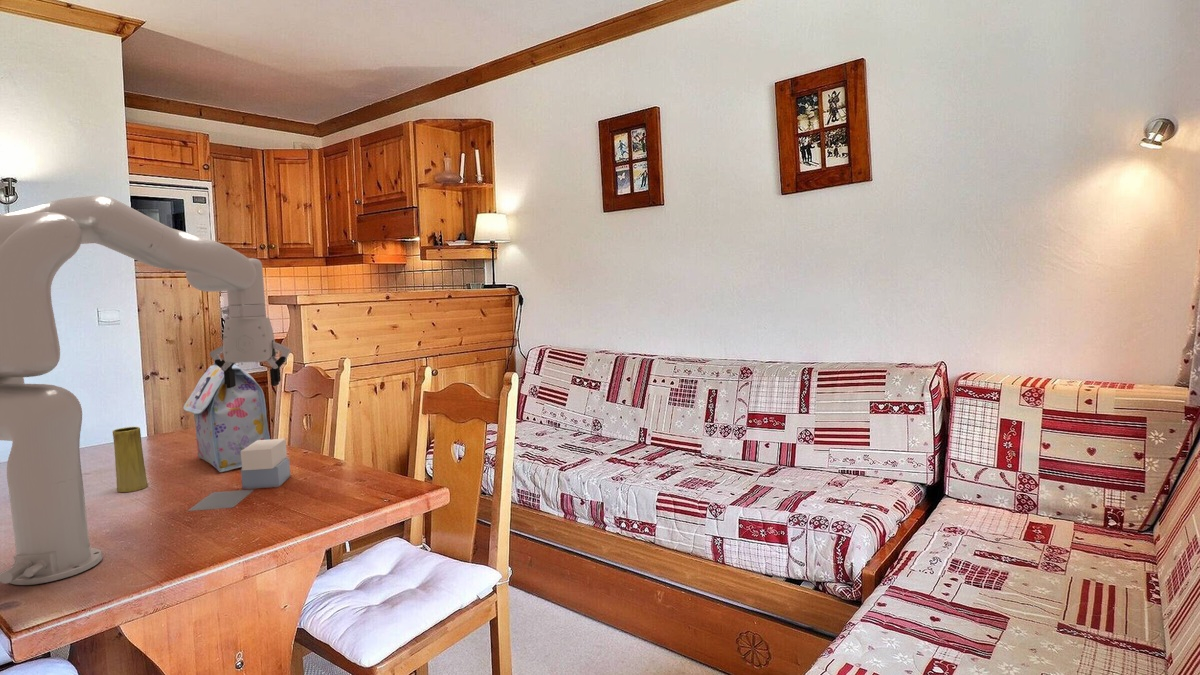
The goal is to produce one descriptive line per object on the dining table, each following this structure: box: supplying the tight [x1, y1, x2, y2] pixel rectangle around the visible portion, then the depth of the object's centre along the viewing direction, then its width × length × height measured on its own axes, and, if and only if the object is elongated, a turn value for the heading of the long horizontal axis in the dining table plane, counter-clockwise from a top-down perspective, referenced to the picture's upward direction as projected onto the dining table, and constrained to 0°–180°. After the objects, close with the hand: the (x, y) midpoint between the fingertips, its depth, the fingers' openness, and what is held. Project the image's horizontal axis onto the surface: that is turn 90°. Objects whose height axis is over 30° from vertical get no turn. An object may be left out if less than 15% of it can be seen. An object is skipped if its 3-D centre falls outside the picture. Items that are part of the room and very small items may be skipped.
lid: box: [241, 438, 288, 471], centre depth 156 cm, size 10×6×4 cm, turn 8°
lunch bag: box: [182, 361, 271, 473], centre depth 177 cm, size 22×17×26 cm
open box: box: [240, 457, 291, 490], centre depth 156 cm, size 8×8×5 cm
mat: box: [187, 488, 256, 512], centre depth 145 cm, size 12×9×1 cm
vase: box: [112, 426, 149, 494], centre depth 156 cm, size 6×6×14 cm
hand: (253, 386), depth 154 cm, fingers open, 9 cm apart
